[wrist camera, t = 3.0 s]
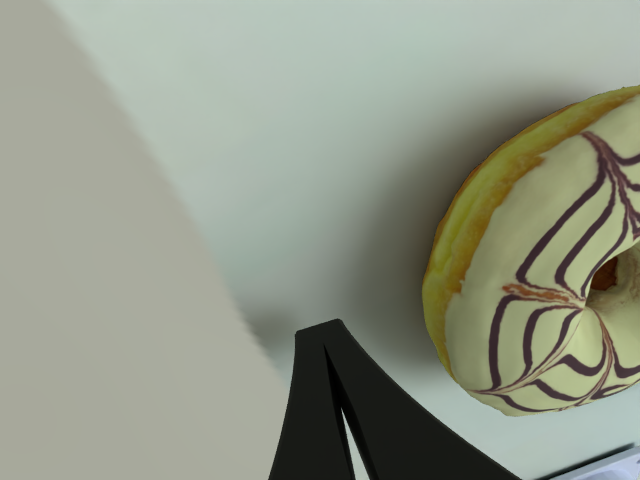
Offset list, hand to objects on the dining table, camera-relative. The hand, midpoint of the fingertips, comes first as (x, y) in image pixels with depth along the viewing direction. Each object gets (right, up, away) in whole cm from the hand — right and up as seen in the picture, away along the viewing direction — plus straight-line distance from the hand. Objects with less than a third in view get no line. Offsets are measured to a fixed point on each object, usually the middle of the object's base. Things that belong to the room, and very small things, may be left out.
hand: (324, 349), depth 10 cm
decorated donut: (+8, +3, +2) cm, 9 cm away
